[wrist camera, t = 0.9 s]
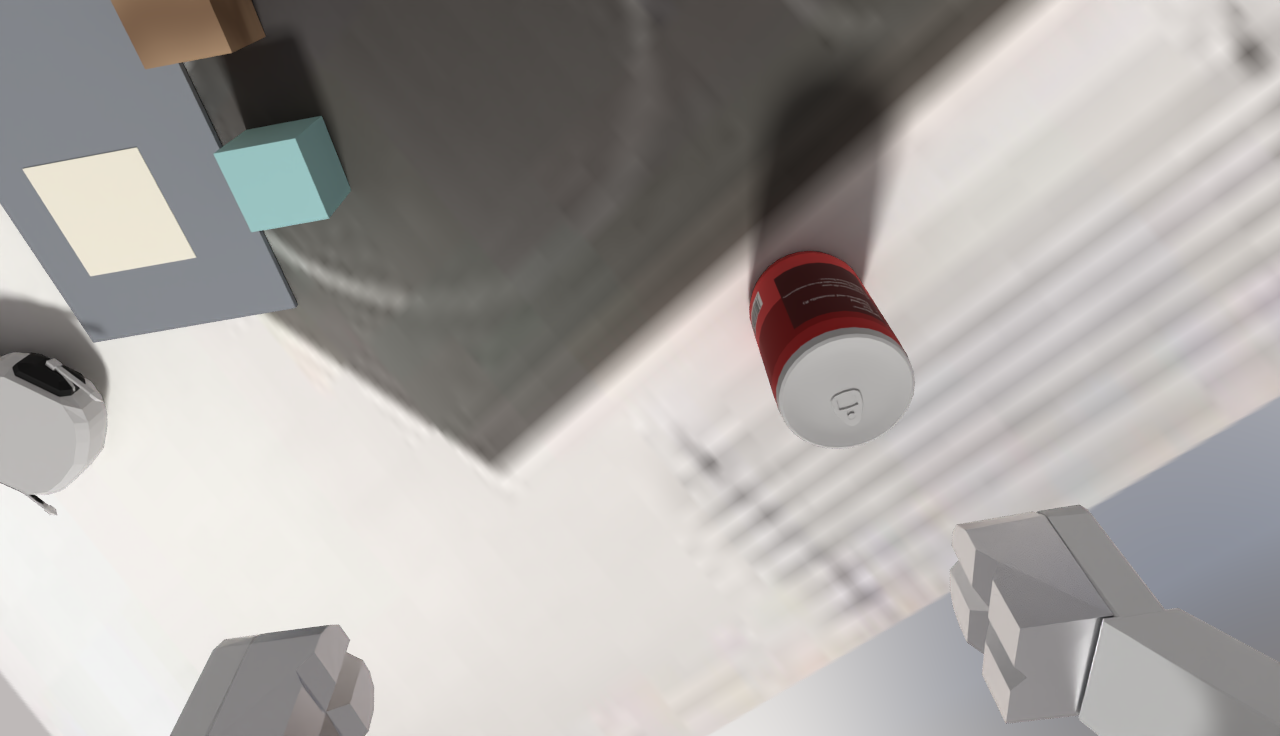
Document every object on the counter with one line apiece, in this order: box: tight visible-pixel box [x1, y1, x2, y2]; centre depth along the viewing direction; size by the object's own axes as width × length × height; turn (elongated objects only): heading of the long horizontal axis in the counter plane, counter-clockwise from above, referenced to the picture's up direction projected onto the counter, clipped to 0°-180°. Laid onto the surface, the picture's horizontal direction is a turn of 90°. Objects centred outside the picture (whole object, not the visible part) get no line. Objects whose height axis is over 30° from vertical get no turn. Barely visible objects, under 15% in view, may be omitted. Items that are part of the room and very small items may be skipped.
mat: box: [0, 0, 298, 343], centre depth 44 cm, size 20×14×1 cm
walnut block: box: [111, 0, 266, 69], centre depth 38 cm, size 4×4×4 cm
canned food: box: [749, 251, 915, 449], centre depth 46 cm, size 8×8×11 cm
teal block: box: [213, 116, 351, 232], centre depth 43 cm, size 4×4×4 cm
